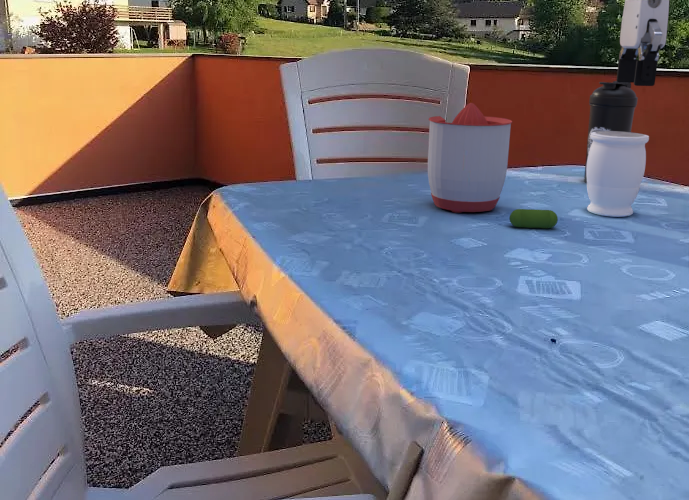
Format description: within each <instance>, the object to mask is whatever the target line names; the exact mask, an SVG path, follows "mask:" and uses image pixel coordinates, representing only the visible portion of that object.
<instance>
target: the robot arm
mask: <svg viewBox="0 0 689 500" xmlns="http://www.w3.org/2000/svg"><path fill="white" fill-rule="evenodd" d="M623 6H624V7H623V11H622V18H621V23H620V24H621V25H620V33H619V34H620V35H619V44H620V46H619V48H620V51H619V55H618V58H619V59H618V64H617V72H616V81H617V82H628V83H631V84H633V85H634V86H636V87H654V86H655V84H656V78H657V77H656V76H657V70H658V61H659V59H660V54H659V53H660V50H661V49H663V48H664V47H665V45H666V42H667V35H668V24H669V23H668V22H669V10H670V0H624V5H623Z"/></svg>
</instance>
